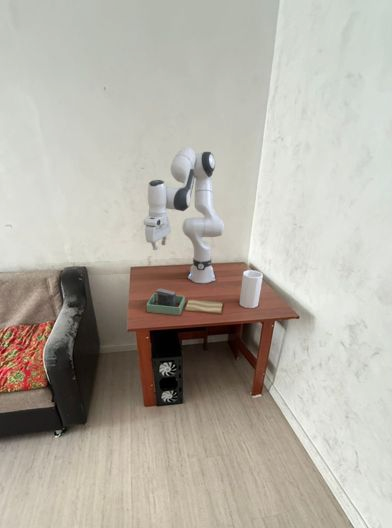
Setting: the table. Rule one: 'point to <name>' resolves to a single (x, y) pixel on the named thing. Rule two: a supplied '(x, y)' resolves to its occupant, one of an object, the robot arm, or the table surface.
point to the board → (204, 306)
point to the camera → (165, 298)
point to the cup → (250, 288)
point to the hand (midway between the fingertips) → (159, 247)
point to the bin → (165, 309)
